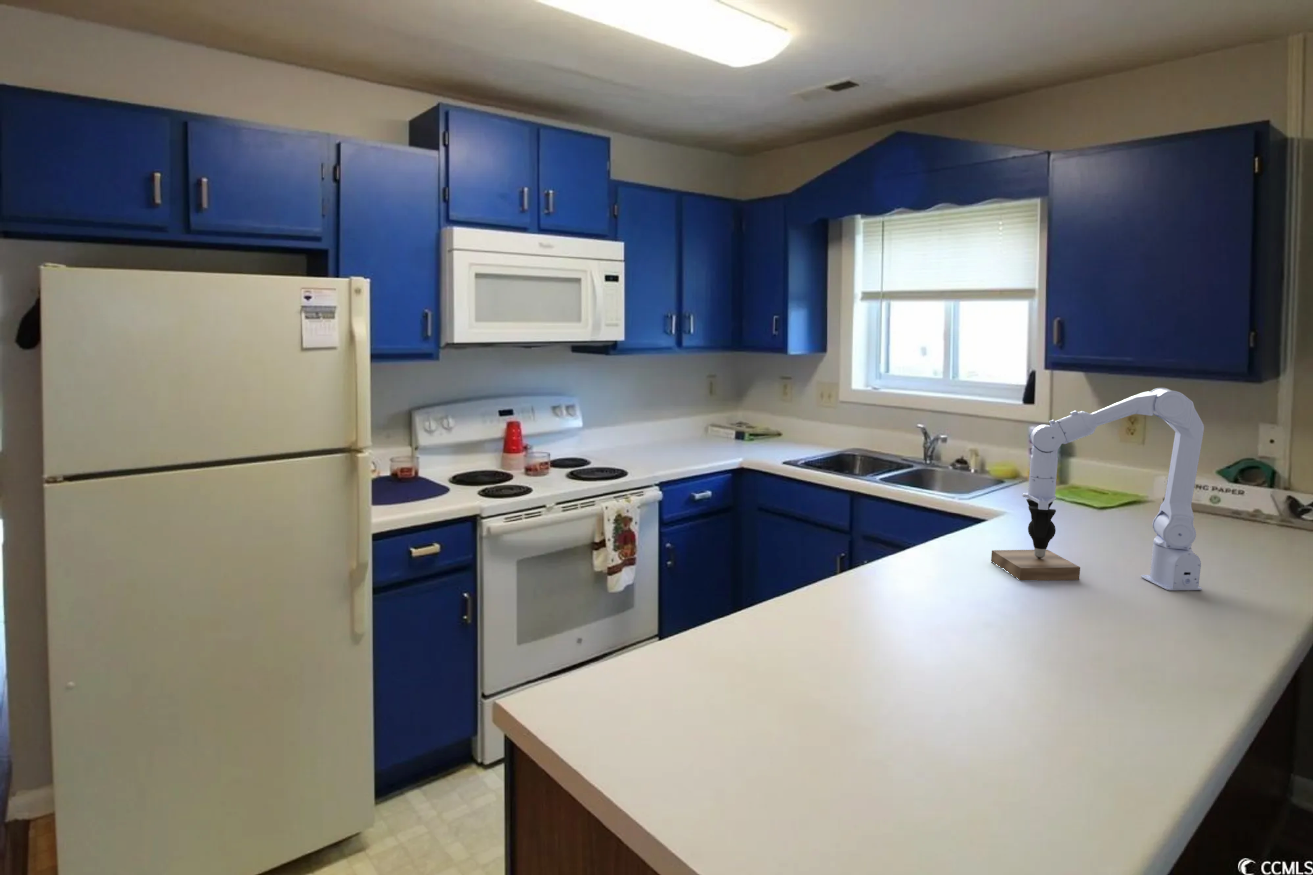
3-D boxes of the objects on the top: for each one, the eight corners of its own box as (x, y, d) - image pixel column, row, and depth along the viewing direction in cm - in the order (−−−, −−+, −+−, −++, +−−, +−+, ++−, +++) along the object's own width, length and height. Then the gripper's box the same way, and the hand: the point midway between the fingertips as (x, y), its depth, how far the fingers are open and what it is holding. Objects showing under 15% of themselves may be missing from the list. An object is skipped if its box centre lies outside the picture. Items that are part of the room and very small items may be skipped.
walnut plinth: (1079, 579, 182) (1080, 567, 182) (1019, 580, 181) (1020, 568, 181) (1046, 561, 196) (1047, 549, 196) (991, 562, 195) (991, 550, 195)
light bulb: (1057, 562, 185) (1060, 520, 184) (1031, 562, 186) (1034, 520, 184) (1047, 555, 191) (1050, 514, 189) (1021, 554, 191) (1024, 514, 190)
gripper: (1022, 469, 194) (1018, 524, 196) (1025, 481, 180) (1021, 539, 182) (1054, 471, 191) (1050, 526, 193) (1060, 483, 178) (1055, 542, 180)
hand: (1038, 533), depth 187 cm, fingers open, 7 cm apart
